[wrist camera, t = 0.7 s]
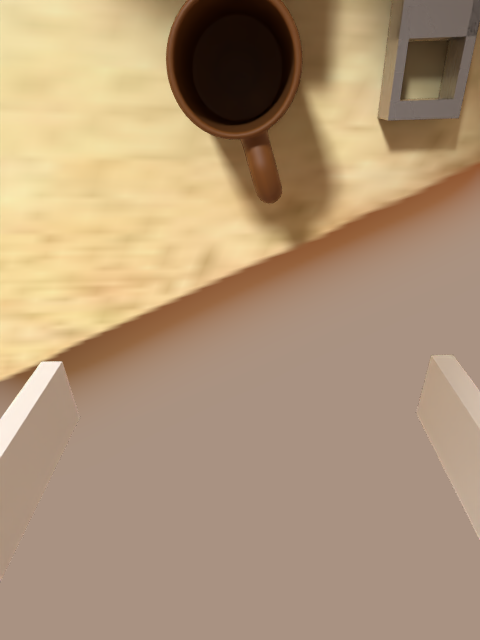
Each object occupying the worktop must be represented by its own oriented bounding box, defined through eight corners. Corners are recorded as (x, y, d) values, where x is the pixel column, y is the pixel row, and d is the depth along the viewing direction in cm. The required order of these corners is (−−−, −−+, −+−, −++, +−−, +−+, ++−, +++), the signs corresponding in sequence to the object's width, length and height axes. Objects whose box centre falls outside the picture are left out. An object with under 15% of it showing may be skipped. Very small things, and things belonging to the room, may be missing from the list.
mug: (313, 166, 33) (334, 192, 25) (224, 195, 34) (217, 229, 26) (273, -13, 27) (285, -54, 19) (169, 30, 29) (139, 8, 21)
